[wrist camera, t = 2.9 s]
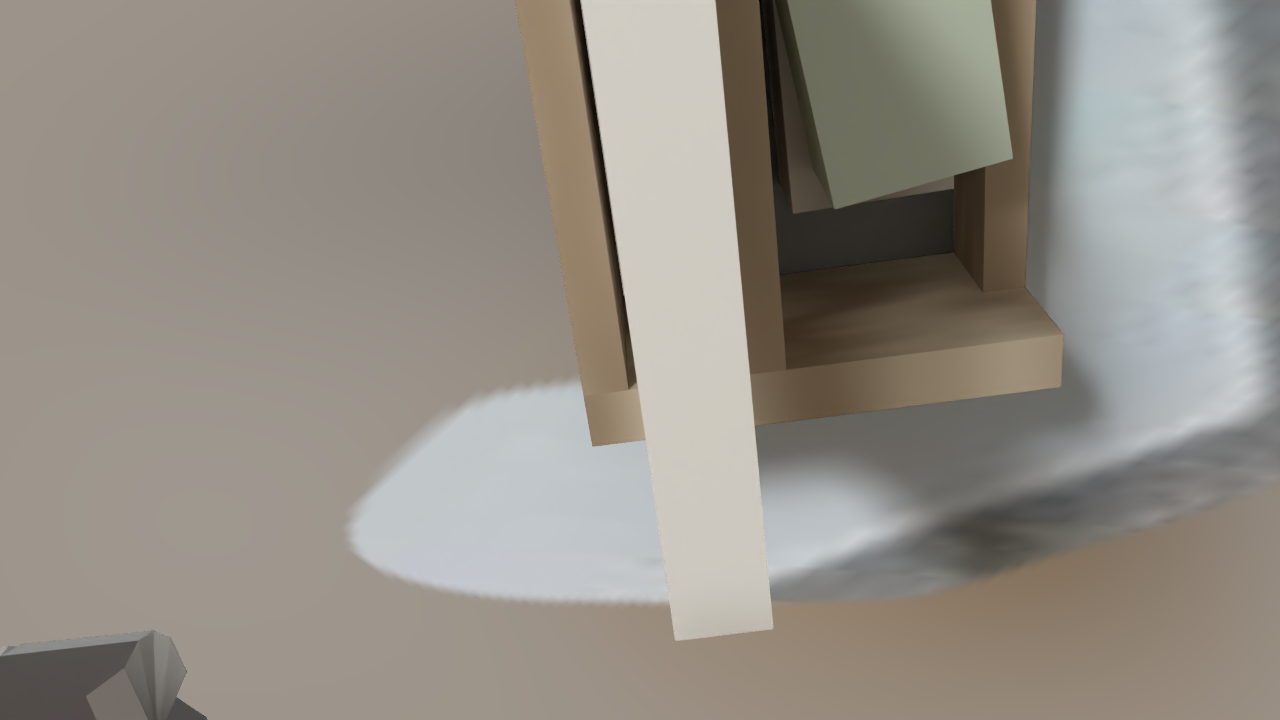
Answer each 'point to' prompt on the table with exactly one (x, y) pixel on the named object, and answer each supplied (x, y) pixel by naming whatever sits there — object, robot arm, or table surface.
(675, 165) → the off-white rectangular board
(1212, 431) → the table surface
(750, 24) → the rack
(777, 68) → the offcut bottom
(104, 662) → the robot arm
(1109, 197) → the table surface
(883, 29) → the offcut top
